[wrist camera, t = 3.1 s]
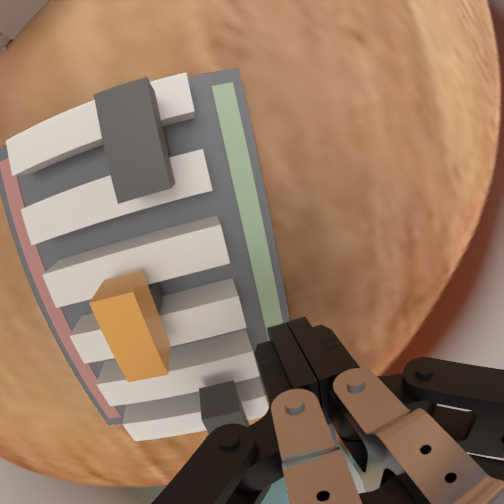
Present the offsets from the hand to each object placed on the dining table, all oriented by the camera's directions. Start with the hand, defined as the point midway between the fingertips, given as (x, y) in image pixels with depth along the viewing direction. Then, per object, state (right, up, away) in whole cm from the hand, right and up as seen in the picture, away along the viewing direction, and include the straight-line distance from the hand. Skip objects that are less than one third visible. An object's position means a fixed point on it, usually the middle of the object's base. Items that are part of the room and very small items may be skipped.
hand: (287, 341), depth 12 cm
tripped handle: (-9, +1, +9) cm, 13 cm away
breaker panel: (-9, +2, +12) cm, 15 cm away
